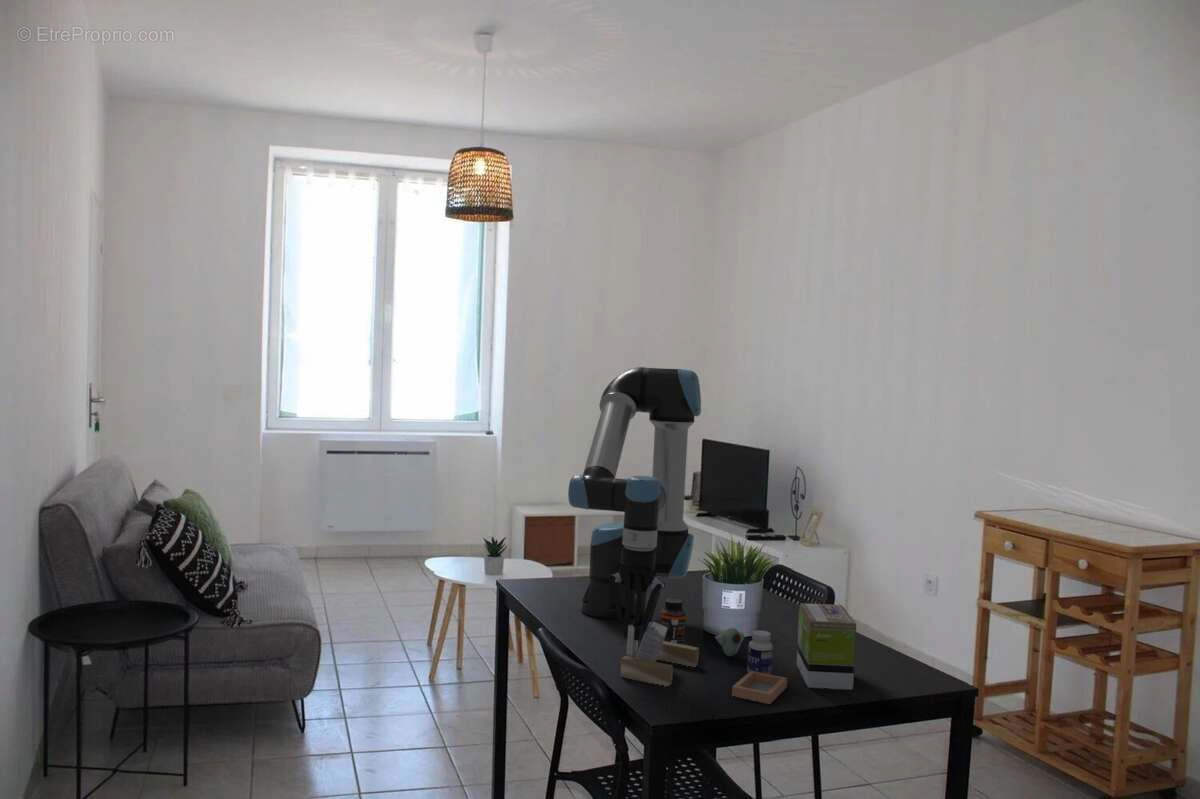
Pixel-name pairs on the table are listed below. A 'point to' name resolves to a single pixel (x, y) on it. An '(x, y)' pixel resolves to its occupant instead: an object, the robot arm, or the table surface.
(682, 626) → the supplement bottle
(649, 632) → the medicine box
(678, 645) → the parallel beige slabs
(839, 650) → the tea box
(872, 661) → the table surface
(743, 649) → the table surface
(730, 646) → the pale green rounded piece
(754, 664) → the pill bottle
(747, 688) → the tray
